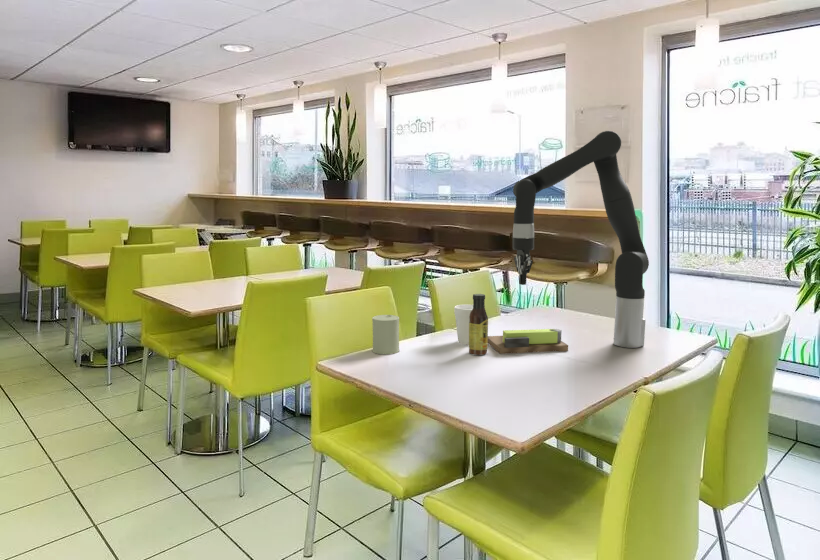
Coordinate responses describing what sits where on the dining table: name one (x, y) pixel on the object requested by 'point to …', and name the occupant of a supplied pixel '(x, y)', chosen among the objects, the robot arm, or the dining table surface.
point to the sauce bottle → (478, 326)
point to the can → (385, 334)
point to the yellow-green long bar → (536, 335)
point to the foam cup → (463, 322)
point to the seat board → (530, 349)
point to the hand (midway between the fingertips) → (522, 284)
